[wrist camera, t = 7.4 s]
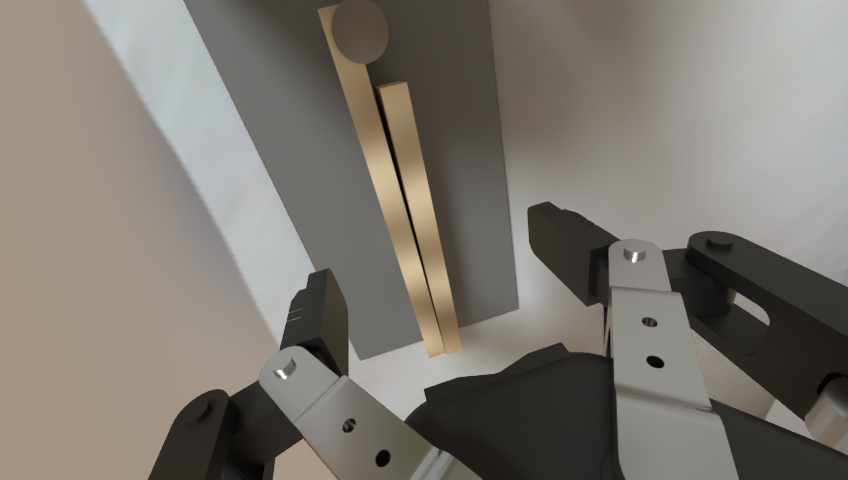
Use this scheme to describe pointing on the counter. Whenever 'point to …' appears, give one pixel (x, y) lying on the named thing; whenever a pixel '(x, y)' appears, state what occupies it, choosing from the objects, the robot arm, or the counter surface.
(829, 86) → the counter surface
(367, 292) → the mat
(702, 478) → the robot arm
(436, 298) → the bar
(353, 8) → the tongs
